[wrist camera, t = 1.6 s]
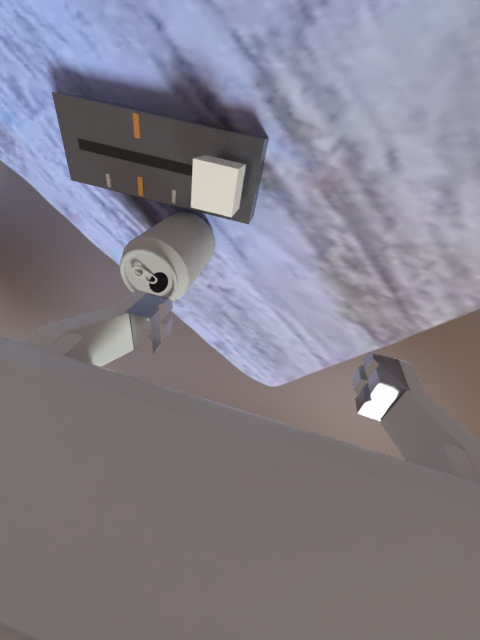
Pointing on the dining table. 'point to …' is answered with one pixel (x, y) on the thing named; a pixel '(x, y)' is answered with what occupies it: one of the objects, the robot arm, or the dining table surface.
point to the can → (168, 256)
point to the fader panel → (151, 152)
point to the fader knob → (217, 185)
